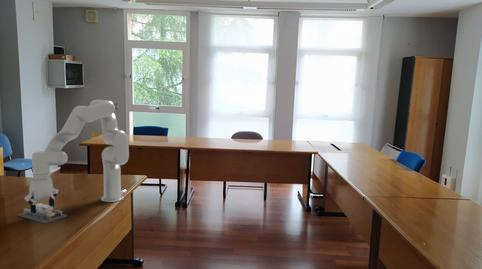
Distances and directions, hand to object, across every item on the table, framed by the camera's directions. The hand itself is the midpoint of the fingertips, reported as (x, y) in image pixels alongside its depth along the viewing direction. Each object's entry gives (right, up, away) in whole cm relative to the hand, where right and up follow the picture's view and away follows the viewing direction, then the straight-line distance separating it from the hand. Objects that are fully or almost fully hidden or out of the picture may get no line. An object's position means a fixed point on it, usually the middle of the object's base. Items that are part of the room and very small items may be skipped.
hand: (42, 209), depth 174 cm
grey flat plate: (0, -3, 0) cm, 3 cm away
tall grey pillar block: (+1, -3, 0) cm, 3 cm away
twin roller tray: (0, -3, 0) cm, 3 cm away
